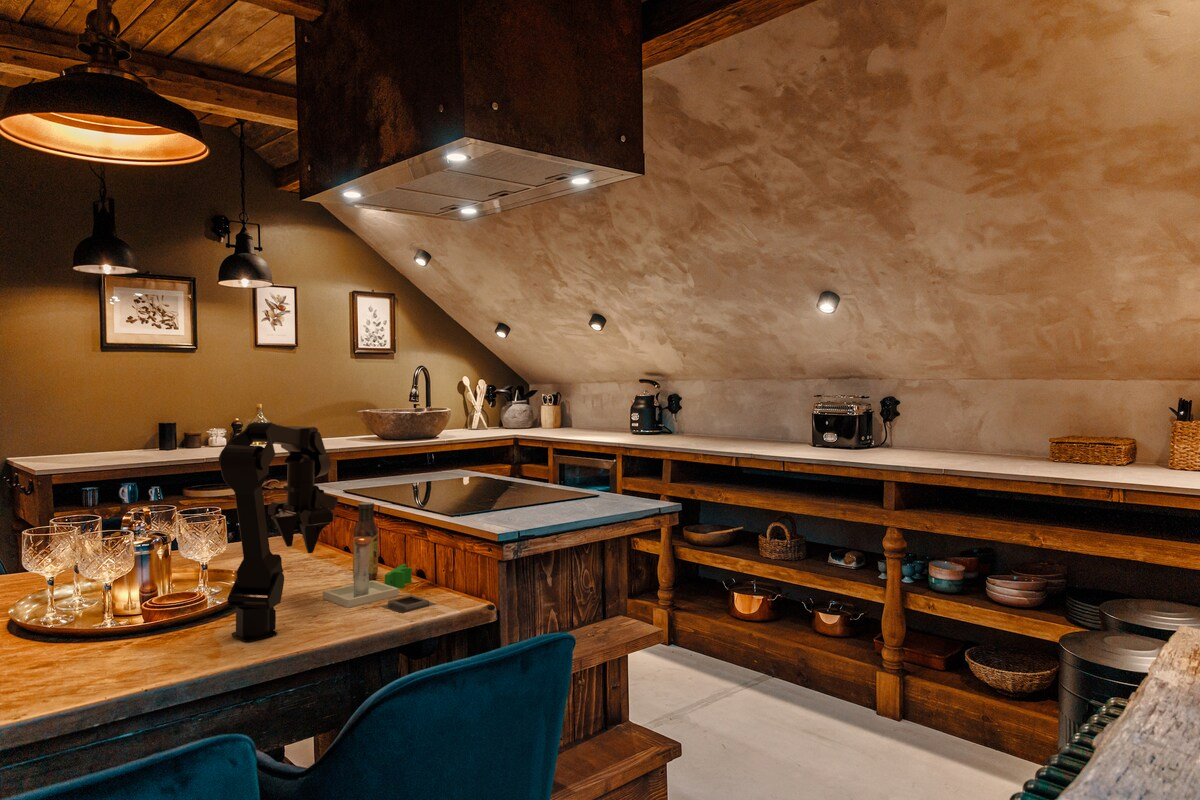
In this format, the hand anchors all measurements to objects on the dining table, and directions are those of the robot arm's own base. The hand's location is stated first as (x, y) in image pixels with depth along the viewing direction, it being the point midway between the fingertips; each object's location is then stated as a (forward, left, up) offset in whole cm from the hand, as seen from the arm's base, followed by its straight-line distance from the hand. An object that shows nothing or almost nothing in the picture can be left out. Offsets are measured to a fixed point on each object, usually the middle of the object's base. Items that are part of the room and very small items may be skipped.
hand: (299, 549), depth 170 cm
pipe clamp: (+26, -2, -13) cm, 29 cm away
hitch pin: (+13, -5, -12) cm, 19 cm away
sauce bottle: (+24, +10, -13) cm, 29 cm away
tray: (+13, -5, -13) cm, 19 cm away
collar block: (+17, -18, -13) cm, 28 cm away
